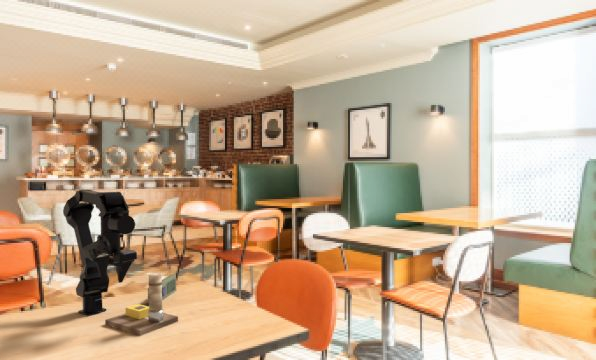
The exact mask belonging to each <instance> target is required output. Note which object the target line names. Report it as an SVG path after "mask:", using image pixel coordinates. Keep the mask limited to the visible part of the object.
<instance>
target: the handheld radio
mask: <svg viewBox="0 0 596 360" xmlns="http://www.w3.org/2000/svg"><path fill="white" fill-rule="evenodd" d="M176 276H177V275H176V274H169V275H168V276H167V277H164V278H162V301H163V300H165V299H166V298H167V297H169V296H171V295H172V294H173V293H176V292H177V277H176ZM147 300H148V301H147V302H146V303H145V304H143V305H144V306H148V307H149V287H147Z"/></svg>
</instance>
